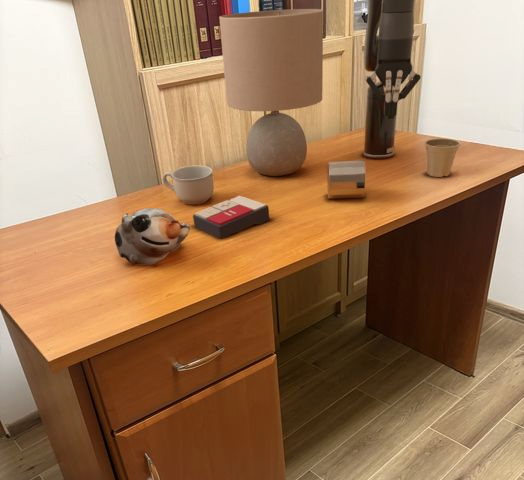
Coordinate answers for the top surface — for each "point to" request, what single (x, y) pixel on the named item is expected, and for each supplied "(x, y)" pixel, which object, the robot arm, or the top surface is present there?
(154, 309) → the top surface
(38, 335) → the top surface
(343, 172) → the pot
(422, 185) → the top surface
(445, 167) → the flower pot
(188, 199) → the teacup
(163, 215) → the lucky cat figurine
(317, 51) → the lamp
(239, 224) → the flat box
